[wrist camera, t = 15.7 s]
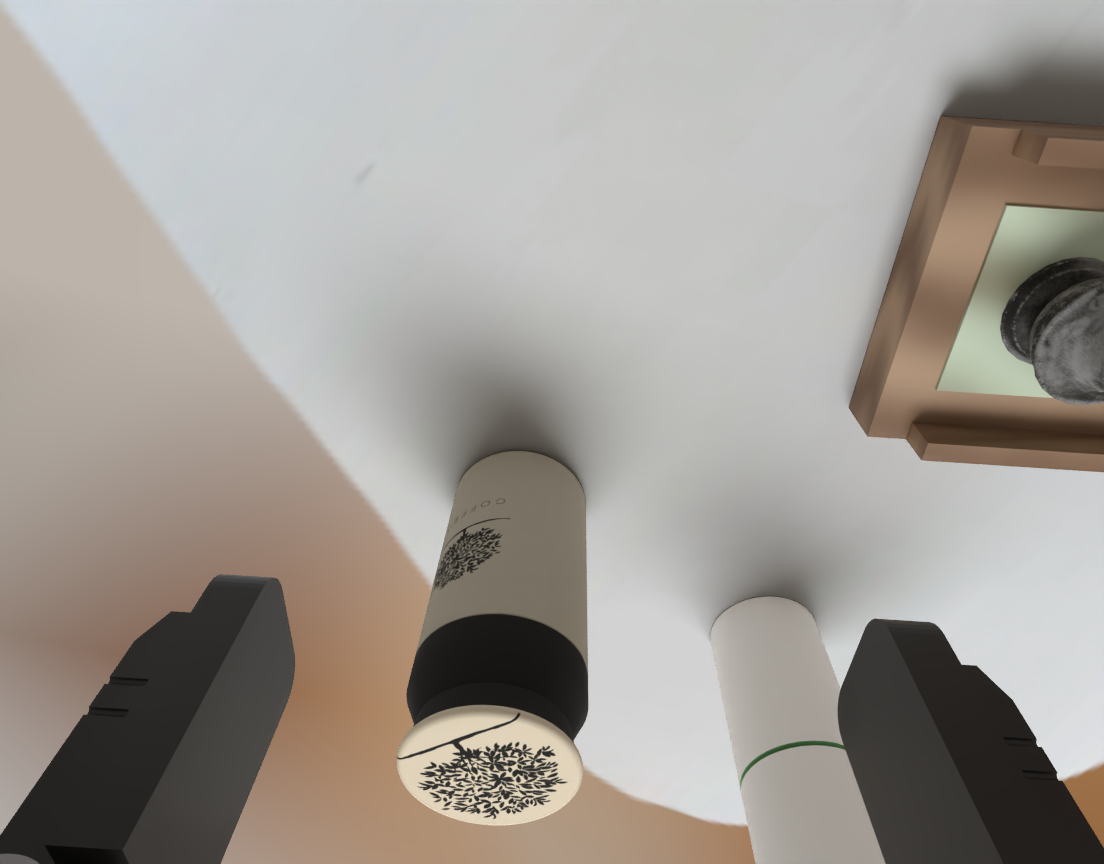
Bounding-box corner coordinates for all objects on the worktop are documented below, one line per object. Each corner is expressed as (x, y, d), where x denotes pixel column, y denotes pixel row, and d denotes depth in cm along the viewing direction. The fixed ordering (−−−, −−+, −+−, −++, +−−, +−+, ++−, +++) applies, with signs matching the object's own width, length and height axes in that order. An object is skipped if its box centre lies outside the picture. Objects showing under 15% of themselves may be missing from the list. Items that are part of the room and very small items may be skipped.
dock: (940, 115, 32) (996, 134, 28) (1253, 136, 32) (1357, 158, 28) (848, 408, 40) (881, 457, 35) (1100, 424, 40) (1162, 475, 35)
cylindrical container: (727, 679, 52) (831, 1162, 30) (696, 613, 48) (789, 1103, 27) (826, 654, 50) (1011, 1146, 29) (801, 584, 47) (989, 1081, 25)
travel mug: (603, 532, 45) (615, 811, 29) (487, 564, 47) (442, 844, 31) (558, 430, 41) (545, 690, 26) (434, 470, 43) (352, 734, 27)
